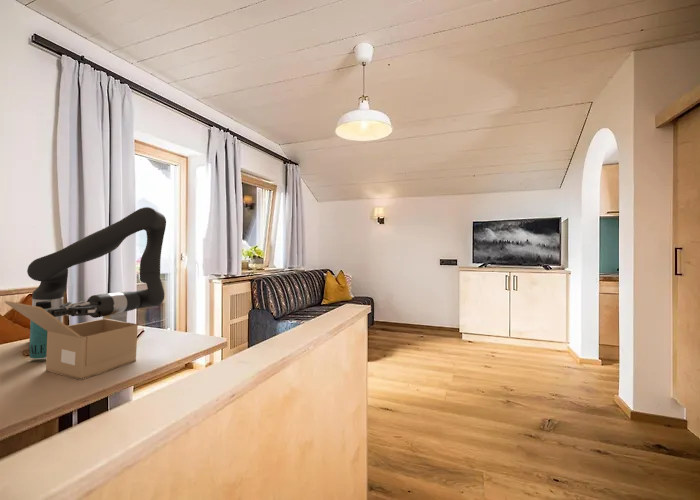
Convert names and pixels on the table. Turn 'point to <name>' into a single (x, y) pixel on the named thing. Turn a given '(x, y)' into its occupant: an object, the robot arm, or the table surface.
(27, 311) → the carton flap
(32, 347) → the beverage bottle
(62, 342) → the carton
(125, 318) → the coffee box
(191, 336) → the table surface
